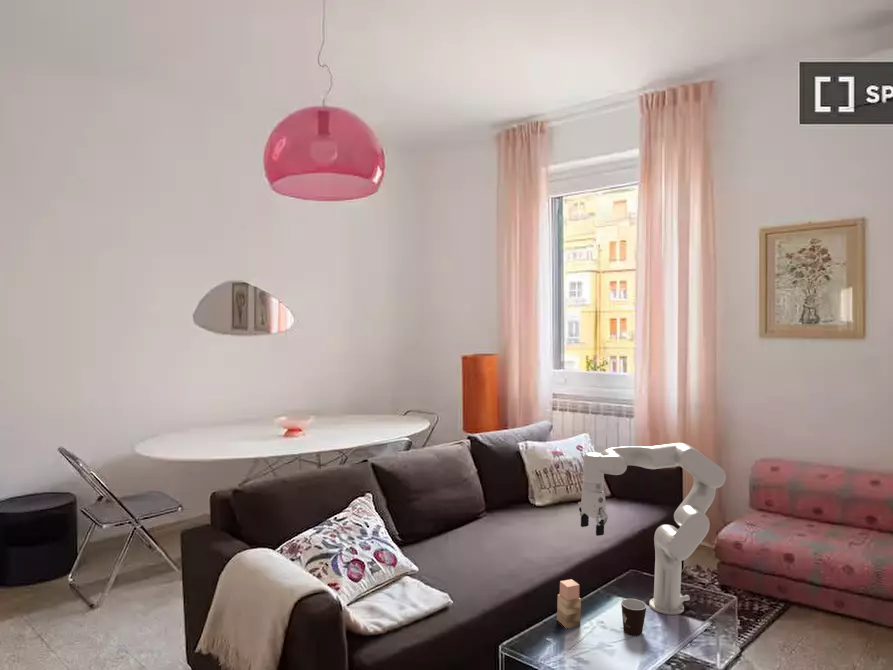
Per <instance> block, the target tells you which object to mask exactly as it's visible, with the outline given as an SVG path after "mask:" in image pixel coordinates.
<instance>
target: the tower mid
mask: <svg viewBox="0 0 893 670" xmlns="http://www.w3.org/2000/svg"><path fill="white" fill-rule="evenodd" d="M556 604H557V605H556V606H557V608H558V609H559V610H561V611H562V612H563V613H564V614H565V615H570V614H575V613H580V612H581V611H582V609H581V608H582V598H580V597H579V598H578V599H573V600H568V601H567V600H566V599H564V598H563V597H562V596H561V595H560V593H559V594H557V603H556ZM557 608H556V609H557Z"/></svg>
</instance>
